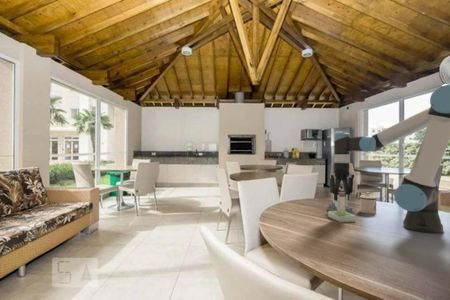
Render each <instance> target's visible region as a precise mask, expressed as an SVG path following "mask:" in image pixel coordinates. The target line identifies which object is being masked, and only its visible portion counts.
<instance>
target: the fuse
mask: <svg viewBox="0 0 450 300" xmlns="http://www.w3.org/2000/svg"><path fill="white" fill-rule="evenodd" d="M339 189H341V187H340V186H339ZM332 203H333V205H335V200H334V194H333V193H332Z"/></svg>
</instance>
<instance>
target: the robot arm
mask: <svg viewBox="0 0 450 300" xmlns="http://www.w3.org/2000/svg"><path fill="white" fill-rule="evenodd" d="M429 104H430V106H429V107H427V108H426V109H424V110H422V111H419V112H417V113H415V114H414V115H411V116H409V117H407V118H406V119H404V120H401V121H399V122H397V123H396V124H394V125H391V126H389V127H388V128H385V129H383V130H381V131H379V132H377V133H376V134H373V135H371V136H370V135H364V136H363V135H361V136H351V134H350V133H349V132H338V133H335V134H334V137H333V138H334V139H333V146H334V147H333V162H334V163H333V170H334V171H333V173H331V174H330V173H329V174H328V177H329V191H330V193H331V194H332V195H333V194H334V200H335V206H336V207H339V195H338V191H339V187H340V184H341V182H342V184H343V185H342V186H343V189H344V190H346V192H345V193H346V194H345V207H349V205H348V203H349V200H350V195H351V194H353V187H354V178H355V174H353V173H350V163H349V162H350V161H351V159H350V155H351V154H350V152H364V153H365V152H367V153H368V152H373V153H374V152H378V151H380V150H382V149H383V148H384V147H386V146H389V145H391V144H393V143H395V142H397V141H399V140H401V139H404V138H406V137H408V136H411V135H413V134H414V133H417V132H419V131H422V130H425V132H424V134H423V138H422V140H421V142H420V145H419V148H418V150H417V152H416V156H415V158H414V161H413V163H412V166H411V168H410V171H409V173H407V174H405V175H404V176H403V177H402V180H401V184H400V185H399V186H397V188H396V189H395V191H394V194H393V195H394V196H393V197H394V201H395V202H396V205H397V206H398V207H399V208H401V209H403V210H405V211H406V214H405V217H404V219H403V220H402V221H403V223H402V225H403V227H404V228H406V229H408V230H412V231H415V232H421V233H428V234H429V233H430V234H440V233H443V232H444V225H443V223H442V220H441V217H440V214H439V189H440V186H439V181H438V180H435V178H436V174H437V173H438V170H439V167H440V164H441V163H442V160H443V157H444V155H445V153H446V150H447V148H448V145H449V143H450V83H447V84H446V83H445V84H442V85H441V86H439V87H437V88H436V89H435V90H434V91H433V92H432V93H431V95H430V98H429Z"/></svg>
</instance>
